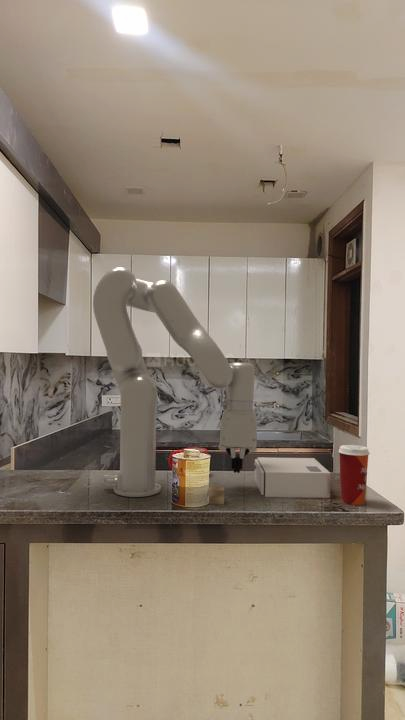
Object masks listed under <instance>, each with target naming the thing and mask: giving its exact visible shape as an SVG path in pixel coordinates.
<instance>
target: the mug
mask: <svg viewBox="0 0 405 720" xmlns="http://www.w3.org/2000/svg"><path fill="white" fill-rule="evenodd" d="M184 449H196V450H199V451H201V452H202V453H205V454H207V455H208V449H207V448H204V447H196V446H190V447H184V448H182V449H176V450H174V451H173V452H172V453H170V455H169V457H168V465H169V467H170V469H171V470H172V455H173V454H176V453H180V452H183V451H184Z"/></svg>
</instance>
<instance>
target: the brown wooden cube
mask: <svg viewBox="0 0 405 720" xmlns="http://www.w3.org/2000/svg"><path fill="white" fill-rule="evenodd" d="M208 487H209V488H208V492H209V493H208V504H209V505H212V506H213V505H217V506H218V505H219V506H221V505H222V506H224V505H225V488H224V486H219V485H218V486H208Z"/></svg>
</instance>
